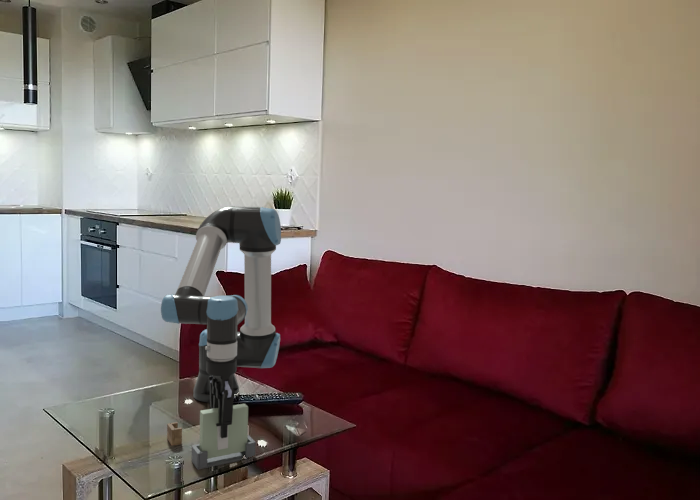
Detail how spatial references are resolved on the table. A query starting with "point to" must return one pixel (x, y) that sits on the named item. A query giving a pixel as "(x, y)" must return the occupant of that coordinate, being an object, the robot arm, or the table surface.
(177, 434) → the rack
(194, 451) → the display stand
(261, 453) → the table surface
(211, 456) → the sheet
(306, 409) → the table surface
